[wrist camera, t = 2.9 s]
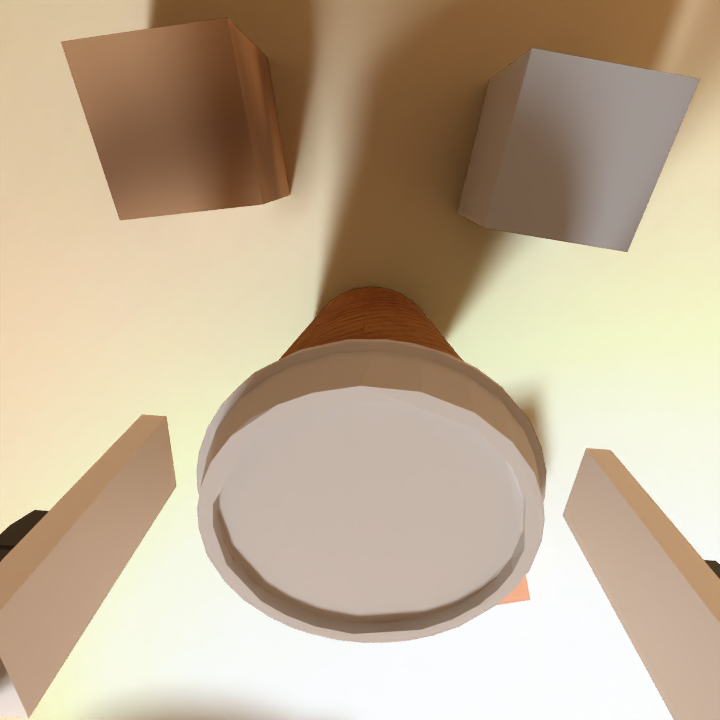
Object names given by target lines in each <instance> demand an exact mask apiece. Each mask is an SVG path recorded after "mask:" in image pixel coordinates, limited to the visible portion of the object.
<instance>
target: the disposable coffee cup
mask: <svg viewBox="0 0 720 720" xmlns="http://www.w3.org/2000/svg"><path fill="white" fill-rule="evenodd" d="M197 485H198V492H199V501H198V509H197V510H198V523H199V530H200V534H201V537H202V540H203V543H204V547H205V550H206V553H207V556H208V557H209V559H210V560H211V562H212V563H213V565H214V566H215V568H216V569H217V570H218V572H219V573H220V575H221V576H222V578H223V579H224V581H225V582H226V583H227V584H228V585H229V586H230V587H231V588H232V589H233V590H234V591H235V592H236V593H237V594H238V595H239V596H240V597H241V598H242V599H243V600H245V601H246V602H248V603H249V604H251V605H252V606H254V607H255V608H257V609H258V610H260V611H261V612H263V613H264V614H266V615H267V616H269V617H271V618H273V619H275V620H277V621H279V622H281V623H283V624H286V625H288V626H290V627H292V628H295V629H298V630H301V631H304V632H307V633H310V634H314V635H319V636H323V637H327V638H331V639H336V640H343V641H353V642H362V643H382V642H396V641H407V640H413V639H418V638H423V637H428V636H432V635H435V634H438V633H441V632H444V631H447V630H450V629H453V628H456V627H459V626H461V625H463V624H464V623H466V622H468V621H470V620H471V619H473V618H475V617H477V616H478V615H480V614H482V613H484V612H485V611H487V610H489V609H491V608H492V607H494V606H496V605H497V604H499V603H500V602H501V601H502V600H503V599H504V598H505V597H506V596H507V595H508V594H509V593H511V592H512V591H513V590H514V589H515V588H516V586H517V585H518V584H519V583H520V581H521V580H522V579H523V577H524V576H525V575H526V574H527V572H528V571H529V570H530V568H531V565H532V563H533V561H534V558H535V556H536V553H537V551H538V548H539V546H540V544H541V541H542V534H543V527H544V507H543V502H544V498H545V486H546V468H545V463H544V458H543V453H542V448H541V445H540V443H539V441H538V438H537V436H536V434H535V432H534V429H533V427H532V425H531V423H530V420H529V419H528V418H527V416H526V415H525V414H524V413H523V412H522V411H521V409H520V408H519V407H518V406H517V405H516V403H515V402H514V401H513V400H512V399H511V398H510V396H509V395H508V394H507V393H506V392H505V390H504V389H503V388H502V387H501V386H500V385H498V384H497V383H496V382H494V381H493V380H492V379H490V378H489V377H488V376H486V375H485V374H484V373H482V372H481V371H480V370H478V369H477V368H475V367H473V366H471V365H469V364H467V363H465V362H464V361H463V360H462V359H461V358H460V357H459V356H458V354H457V353H456V352H455V351H454V349H453V348H452V347H451V346H450V344H449V343H448V342H447V341H446V340H445V338H444V337H443V336H442V335H441V333H440V332H439V331H438V330H437V329H436V328H435V327H434V325H433V324H432V323H431V321H430V320H429V319H428V318H427V317H426V316H425V314H424V313H423V311H422V310H421V309H420V308H419V307H418V306H417V305H416V304H415V303H414V302H413V301H412V300H410V299H408V298H407V297H405V296H403V295H402V294H400V293H398V292H395V291H393V290H389V289H384V288H380V287H365V288H359V289H354V290H350V291H348V292H345V293H343V294H341V295H339V296H338V297H336V298H335V299H333V300H331V301H330V302H329V303H328V304H327V305H326V306H325V307H324V308H323V309H322V310H321V312H320V313H319V314H318V315H317V317H316V318H315V319H314V320H313V321H312V322H311V323H310V325H309V326H308V327H307V328H306V329H305V330H304V331H303V333H302V334H301V335H300V336H299V337H298V338H297V340H296V341H295V342H294V343H293V344H292V345H291V347H290V348H289V349H288V350H287V351H286V352H285V353H284V354H283V356H282V357H281V358H280V359H279V360H278V361H277V362H275V363H273V364H271V365H269V366H267V367H265V368H263V369H261V370H259V371H257V372H255V373H254V374H252V375H251V376H250V377H249V378H248V379H247V380H246V381H245V382H244V383H242V384H241V385H240V386H239V387H238V388H237V389H236V390H235V391H234V392H233V393H232V394H231V395H230V396H229V397H228V398H227V400H226V401H225V402H224V403H223V404H222V405H221V407H220V408H219V410H218V411H217V413H216V415H215V416H214V418H213V420H212V421H211V423H210V424H209V426H208V428H207V431H206V434H205V437H204V439H203V442H202V445H201V448H200V451H199V457H198V464H197Z"/></svg>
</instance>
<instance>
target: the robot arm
mask: <svg viewBox="0 0 720 720" xmlns="http://www.w3.org/2000/svg"><path fill="white" fill-rule="evenodd" d="M175 487H176V479H175V472H174V466H173V459H172V452H171V445H170V438H169V431H168V424H167V417H166V416H153V415H141V416H140V417H139V418H138V419H137V420H136V421H135V422H134V424H133V425H132V426H131V427H130V428H129V429H128V430H127V431H126V432H125V433H124V434H123V435H122V436H121V437H120V438H119V439H118V440H117V441H116V442H115V443H114V444H113V445H112V446H111V447H110V448H109V449H108V451H107V452H106V453H105V454H104V455H103V456H102V457H101V458H100V459H99V460H98V461H97V462H96V463H95V464H94V465H93V466H92V467H91V468H90V469H89V470H88V471H87V472H86V473H85V474H84V475H83V476H82V478H81V479H80V480H79V481H78V482H77V483H76V484H75V485H74V486H73V487H72V488H71V489H70V490H69V491H68V492H67V493H66V494H65V495H64V496H63V497H62V498H61V499H60V500H59V501H58V502H57V503H56V505H55V506H54V507H53V508H52V509H51V510H50V511H40V510H34V511H32V512H31V513H29V514H27V515H26V516H24V517H23V518H21V519H19V520H18V521H16V522H15V523H13V524H11V525H10V526H9V527H8V528H7V529H6V530H5V531H3V532H2V533H1V534H0V716H5V717H18V718H29V717H30V716H31V714H32V713H33V711H34V709H35V708H36V706H37V705H38V703H39V701H40V700H41V698H42V697H43V695H44V694H45V692H46V690H47V689H48V687H49V686H50V684H51V683H52V681H53V679H54V678H55V676H56V675H57V673H58V672H59V670H60V668H61V667H62V665H63V664H64V662H65V661H66V659H67V657H68V656H69V654H70V653H71V651H72V650H73V648H74V646H75V645H76V643H77V642H78V640H79V638H80V637H81V635H82V634H83V632H84V631H85V629H86V627H87V626H88V624H89V623H90V621H91V620H92V618H93V616H94V615H95V613H96V612H97V610H98V609H99V607H100V605H101V604H102V602H103V601H104V599H105V598H106V596H107V594H108V593H109V591H110V590H111V588H112V587H113V585H114V583H115V582H116V580H117V579H118V577H119V575H120V574H121V572H122V571H123V569H124V568H125V566H126V564H127V563H128V561H129V560H130V558H131V557H132V555H133V553H134V552H135V550H136V549H137V547H138V546H139V544H140V542H141V541H142V539H143V538H144V536H145V535H146V533H147V531H148V530H149V528H150V527H151V525H152V524H153V522H154V520H155V519H156V517H157V516H158V514H159V513H160V511H161V509H162V508H163V506H164V505H165V503H166V501H167V500H168V498H169V497H170V495H171V494H172V492H173V490H174V489H175ZM563 517H564V519H565V521H566V522H567V524H568V526H569V528H570V530H571V532H572V533H573V535H574V537H575V539H576V541H577V543H578V544H579V546H580V548H581V550H582V552H583V554H584V555H585V557H586V559H587V561H588V563H589V565H590V566H591V568H592V570H593V572H594V574H595V576H596V577H597V579H598V581H599V583H600V585H601V587H602V588H603V590H604V592H605V594H606V596H607V598H608V599H609V601H610V603H611V605H612V607H613V609H614V611H615V612H616V614H617V616H618V618H619V620H620V622H621V623H622V625H623V627H624V629H625V631H626V633H627V634H628V636H629V638H630V640H631V642H632V644H633V645H634V647H635V649H636V651H637V653H638V655H639V656H640V658H641V660H642V662H643V664H644V666H645V667H646V669H647V671H648V673H649V675H650V677H651V678H652V680H653V682H654V684H655V686H656V688H657V689H658V691H659V693H660V695H661V697H662V699H663V700H664V702H665V704H666V706H667V708H668V710H669V712H670V713H671V715H672V717H673V719H674V720H720V564H719V563H717V562H716V561H709V560H703V559H702V557H701V556H700V555H699V554H698V553H697V552H696V550H695V549H694V548H693V547H692V546H691V544H690V543H689V542H688V541H687V540H686V539H685V537H684V536H683V535H682V534H681V533H680V531H679V530H678V529H677V528H676V527H675V526H674V524H673V523H672V522H671V521H670V520H669V518H668V517H667V516H666V515H665V514H664V513H663V511H662V510H661V509H660V508H659V507H658V505H657V504H656V503H655V502H654V501H653V500H652V498H651V497H650V496H649V495H648V494H647V492H646V491H645V490H644V489H643V488H642V487H641V485H640V484H639V483H638V482H637V481H636V479H635V478H634V477H633V476H632V475H631V473H630V472H629V471H628V470H627V469H626V468H625V466H624V465H623V464H622V463H621V462H620V460H619V459H618V458H617V457H616V456H615V455H614V453H613V452H612V451H611V450H603V449H590V448H586V450H585V453H584V456H583V459H582V461H581V464H580V467H579V470H578V473H577V476H576V479H575V481H574V484H573V487H572V490H571V493H570V496H569V499H568V501H567V504H566V507H565V510H564V513H563Z"/></svg>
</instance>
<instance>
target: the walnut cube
mask: <svg viewBox="0 0 720 720" xmlns="http://www.w3.org/2000/svg"><path fill="white" fill-rule="evenodd" d="M61 43H62V46H63V49H64V52H65V55H66V58H67V61H68V64H69V67H70V70H71V74H72V77H73V80H74V83H75V86H76V89H77V92H78V95H79V98H80V101H81V104H82V107H83V110H84V113H85V116H86V119H87V122H88V125H89V128H90V131H91V134H92V137H93V140H94V143H95V146H96V149H97V152H98V155H99V158H100V161H101V164H102V167H103V171H104V174H105V177H106V180H107V183H108V186H109V189H110V192H111V195H112V198H113V201H114V204H115V207H116V210H117V213H118V216H119V219H120V220H127V219H136V218H145V217H154V216H163V215H172V214H180V213H189V212H198V211H207V210H216V209H225V208H234V207H243V206H252V205H261V204H265V203H268V202H271V201H274V200H277V199H280V198H282V197H285V196H288V195H290V191H289V185H288V179H287V173H286V167H285V161H284V154H283V148H282V142H281V136H280V130H279V124H278V118H277V112H276V106H275V100H274V94H273V87H272V81H271V75H270V69H269V63H268V58H267V57H266V56H265V55H264V54H263V53H262V52H261V51H260V50H259V49H258V48H257V47H256V46H255V45H254V44H253V43H252V42H251V41H250V40H249V39H248V38H247V37H246V36H245V34H244V33H243V32H242V31H241V30H240V29H239V28H238V27H237V26H236V25H235V24H234V23H233V22H232V21H231V20H230V19H229V18H228V17H226V18H219V19H212V20H206V21H199V22H192V23H185V24H178V25H171V26H164V27H158V28H151V29H144V30H137V31H130V32H123V33H117V34H110V35H103V36H96V37H89V38H82V39H76V40H69V41H62V42H61Z"/></svg>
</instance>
